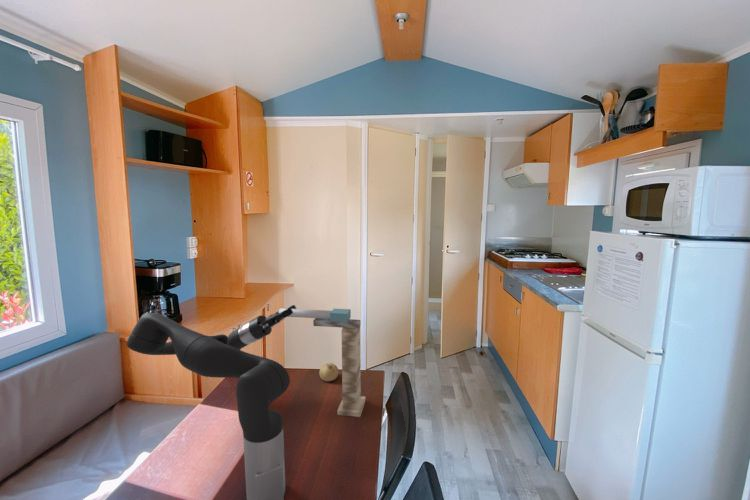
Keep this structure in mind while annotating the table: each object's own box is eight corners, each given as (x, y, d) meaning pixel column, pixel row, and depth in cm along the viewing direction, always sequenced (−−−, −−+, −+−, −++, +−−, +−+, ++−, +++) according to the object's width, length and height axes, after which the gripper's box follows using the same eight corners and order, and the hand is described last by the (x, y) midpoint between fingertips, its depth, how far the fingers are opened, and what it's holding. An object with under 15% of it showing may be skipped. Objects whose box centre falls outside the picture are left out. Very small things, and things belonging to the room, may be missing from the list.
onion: (315, 379, 139) (315, 363, 138) (329, 372, 145) (329, 356, 144) (328, 386, 134) (328, 369, 133) (342, 378, 140) (342, 362, 139)
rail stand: (365, 400, 124) (365, 316, 120) (360, 417, 114) (359, 326, 110) (321, 396, 126) (319, 314, 122) (312, 412, 116) (309, 323, 112)
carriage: (350, 317, 118) (350, 309, 117) (347, 322, 113) (347, 313, 113) (283, 314, 122) (283, 306, 121) (277, 318, 117) (277, 310, 116)
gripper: (239, 328, 114) (279, 305, 111) (259, 315, 128) (295, 294, 125) (250, 346, 115) (291, 324, 111) (269, 331, 128) (305, 311, 125)
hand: (293, 309), depth 118 cm, fingers closed on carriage, 3 cm apart
